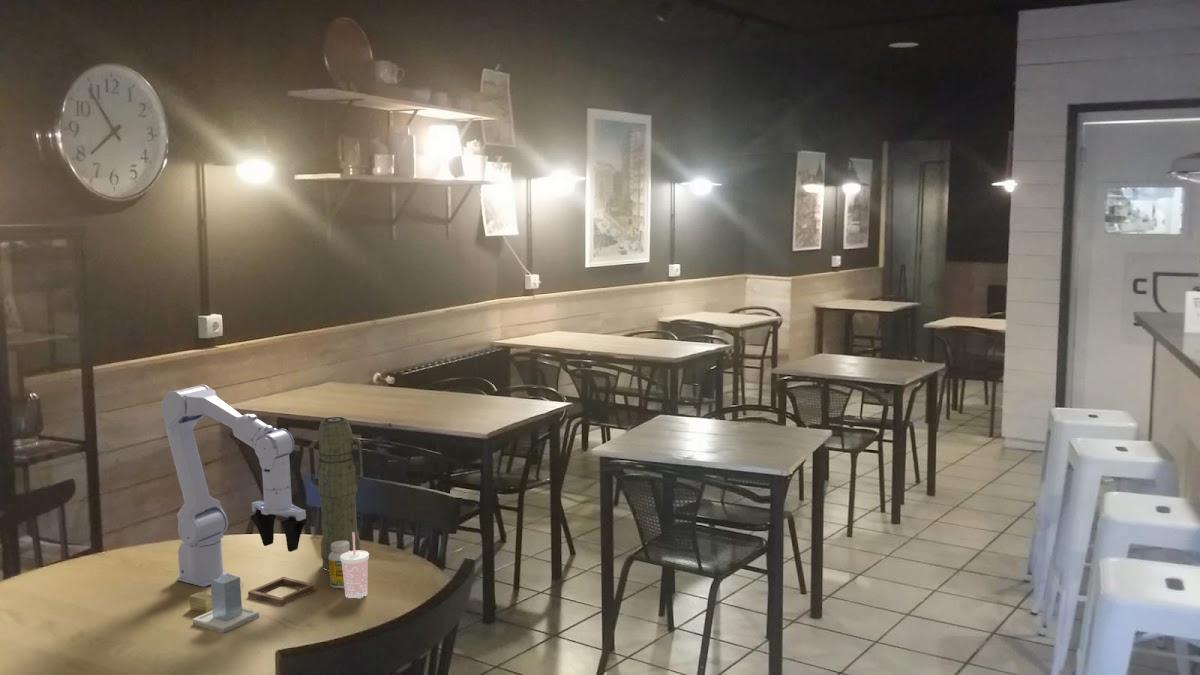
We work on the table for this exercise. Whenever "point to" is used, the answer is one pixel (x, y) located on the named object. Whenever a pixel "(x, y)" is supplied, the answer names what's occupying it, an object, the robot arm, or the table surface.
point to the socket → (306, 589)
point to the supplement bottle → (337, 563)
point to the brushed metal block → (226, 597)
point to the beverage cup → (355, 572)
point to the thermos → (336, 483)
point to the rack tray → (223, 626)
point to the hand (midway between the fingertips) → (280, 547)
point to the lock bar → (201, 602)
